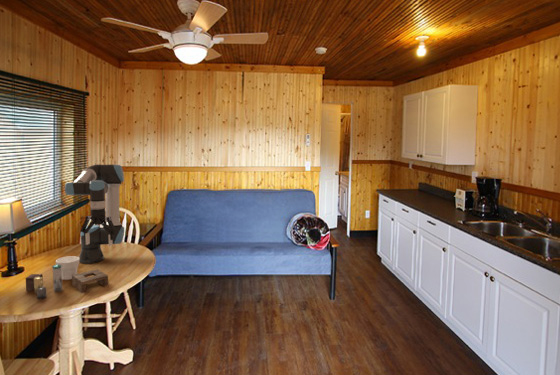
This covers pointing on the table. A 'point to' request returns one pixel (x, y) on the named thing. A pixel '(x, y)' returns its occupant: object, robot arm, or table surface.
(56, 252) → the table surface
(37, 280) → the medium pin
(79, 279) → the bracket
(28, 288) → the box
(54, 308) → the table surface
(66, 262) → the cup
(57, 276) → the long pin
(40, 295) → the short pin
